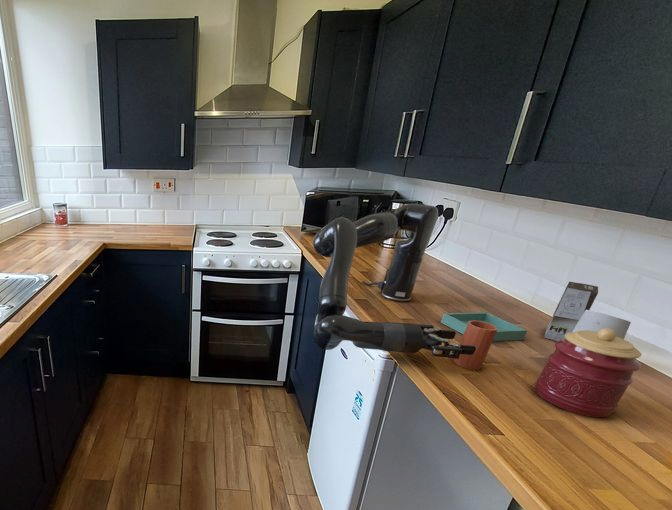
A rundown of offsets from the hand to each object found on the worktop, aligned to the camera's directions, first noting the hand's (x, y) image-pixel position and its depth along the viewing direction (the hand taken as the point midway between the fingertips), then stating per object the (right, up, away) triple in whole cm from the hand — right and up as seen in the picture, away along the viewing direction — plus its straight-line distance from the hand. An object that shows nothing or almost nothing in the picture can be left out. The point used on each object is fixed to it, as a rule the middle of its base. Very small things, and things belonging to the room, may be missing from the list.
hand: (463, 342), depth 101 cm
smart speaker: (+37, -5, +7) cm, 38 cm away
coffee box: (+43, 0, +19) cm, 47 cm away
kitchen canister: (+15, -12, -12) cm, 23 cm away
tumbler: (+3, -6, +2) cm, 7 cm away
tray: (+22, +2, +22) cm, 31 cm away
